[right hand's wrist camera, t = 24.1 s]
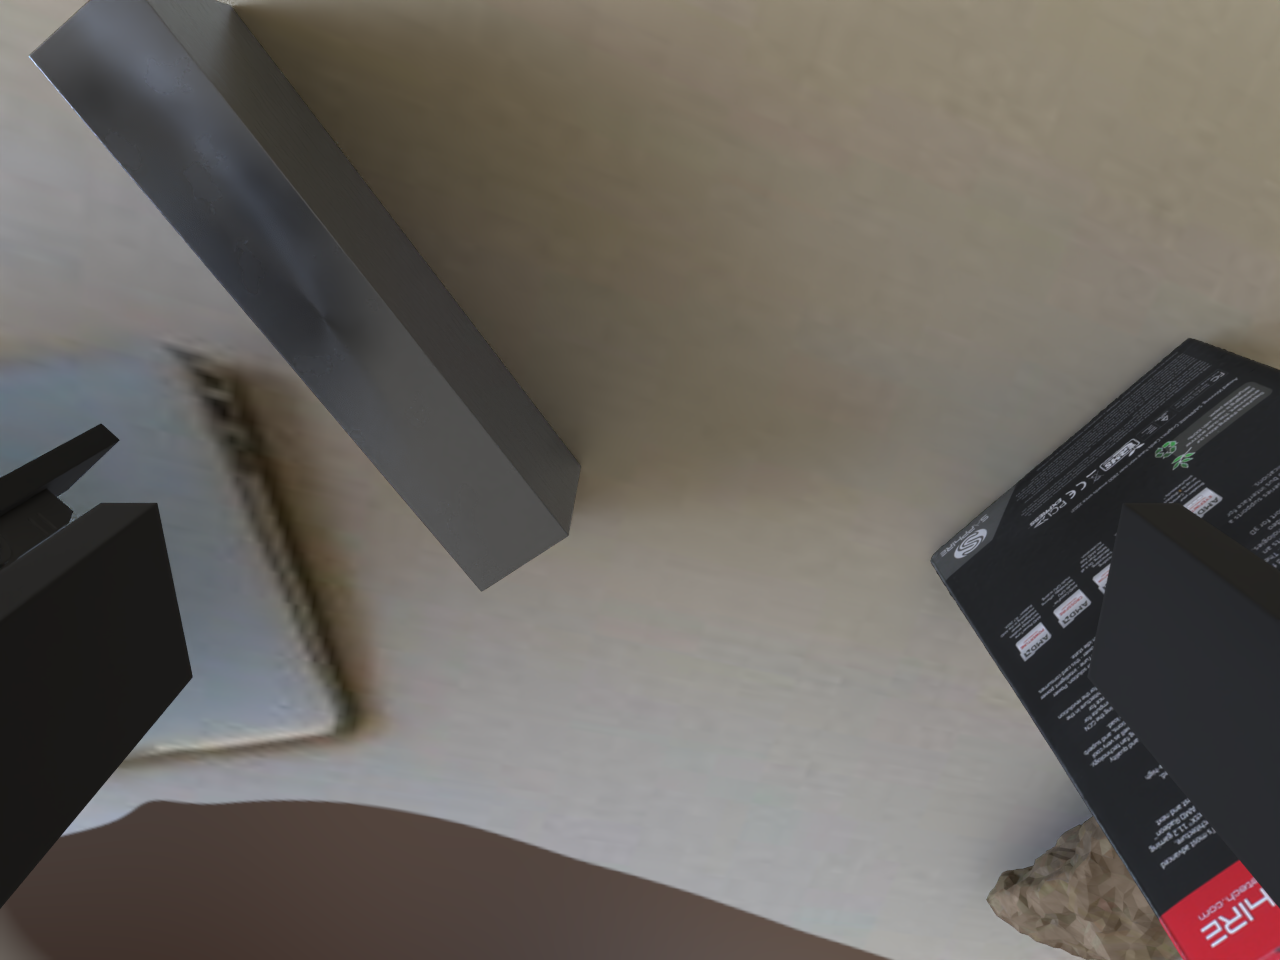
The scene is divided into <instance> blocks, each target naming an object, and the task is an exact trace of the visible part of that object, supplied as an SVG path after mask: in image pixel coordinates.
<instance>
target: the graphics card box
mask: <svg viewBox="0 0 1280 960" xmlns="http://www.w3.org/2000/svg"><path fill="white" fill-rule="evenodd" d="M1123 503H1180V504H1181V505H1183V506H1184V507H1186V508H1187V509H1189V510H1190V511H1192V512H1193V513H1195V514H1196V515H1198V516H1199V517H1200V518H1202V519H1203V520H1205V521H1206V522H1208V523H1209V524H1211V525H1212V526H1214V527H1215V528H1217V529H1218V530H1220V531H1221V532H1223V533H1224V534H1226V535H1227V536H1229V537H1230V538H1232V539H1233V540H1235V541H1236V542H1238V543H1239V544H1240V545H1242V546H1243V547H1245V548H1246V549H1248V550H1249V551H1251V552H1252V553H1254V554H1255V555H1257V556H1258V557H1260V558H1261V559H1263V560H1264V561H1266V562H1267V563H1269V564H1270V565H1272V566H1273V567H1275V568H1276V569H1278V570H1279V571H1280V370H1278V369H1275V368H1273V367H1270V366H1268V365H1265V364H1262V363H1259V362H1256V361H1254V360H1250V359H1248V358H1245V357H1242V356H1240V355H1236V354H1234V353H1232V352H1228V351H1226V350H1225V349H1221V348H1219V347H1215V346H1213V345H1210V344H1208V343H1204V342H1202V341H1199V340H1195V339H1192V338H1188V339H1187V340H1186V341H1184V342H1183V343H1182V344H1181V345H1180V346H1178V347H1177V348H1176V349H1175V350H1174V351H1173V352H1172V353H1171V354H1169V355H1168V356H1167V357H1165V358H1164V359H1163V360H1162V361H1161V362H1160V363H1158V364H1157V365H1156V366H1155V367H1154V368H1153V369H1152V370H1150V371H1149V372H1148V373H1146V374H1145V375H1144V376H1143V377H1141V378H1140V379H1139V380H1138V381H1137V382H1136V383H1135V384H1133V385H1132V386H1131V387H1130V388H1129V389H1128V390H1126V391H1125V392H1124V393H1123V394H1121V395H1120V396H1119V398H1116V399H1115V401H1113V402H1112V403H1111V404H1110V405H1108V406H1107V408H1106V409H1104V410H1102V411H1101V412H1100V413H1099V414H1098V415H1097V416H1096V417H1094V418H1093V419H1092V420H1091V421H1090V422H1089V423H1088V424H1087V425H1085V426H1084V427H1083V428H1082V429H1081V430H1079V431H1078V432H1077V433H1076V434H1075V435H1074V436H1072V437H1070V439H1069V440H1068V441H1067V442H1065V443H1064V444H1063V445H1061V446H1060V447H1059V448H1058V449H1057V450H1055V451H1054V452H1053V453H1052V454H1051V455H1050V456H1049V457H1048V458H1046V459H1045V460H1044V461H1043V462H1041V463H1040V464H1039V465H1038V466H1036V467H1035V468H1034V469H1033V470H1032V471H1031V472H1029V473H1028V474H1027V475H1026V476H1025V477H1024V478H1023V479H1022V480H1020V481H1019V482H1018V483H1017V484H1016V485H1014V486H1013V487H1012V488H1011V489H1010V490H1008V491H1007V492H1006V493H1005V494H1004V495H1002V496H1001V497H1000V498H999V499H998V500H997V501H995V502H994V503H993V504H992V505H991V506H989V507H988V508H987V509H986V510H985V511H983V512H982V513H981V514H980V515H979V516H978V517H976V518H975V519H974V520H973V521H971V522H970V523H969V524H968V525H967V526H966V527H965V528H964V529H962V530H961V531H960V532H959V533H957V534H956V535H955V536H954V537H953V538H952V539H951V540H949V541H948V542H947V543H946V544H945V545H943V546H942V547H941V548H940V549H939V550H938V551H937V552H936V553H935V554H934V555H933V556H932V558H931V563H932V565H933V567H934V568H935V570H936V572H937V574H938V575H939V576H940V578H941V580H942V582H943V583H944V585H945V586H946V587H947V589H948V591H949V593H950V595H951V596H952V597H953V599H954V600H955V601H956V603H957V605H958V606H959V608H960V610H961V611H962V612H963V614H964V615H965V617H966V619H967V620H968V622H969V623H970V625H971V626H972V628H973V629H974V631H975V632H976V634H977V636H978V637H979V638H980V640H981V641H982V643H983V644H984V646H985V648H986V649H987V651H988V652H989V654H990V655H991V657H992V659H993V660H994V661H995V663H996V664H997V666H998V668H999V669H1000V671H1001V672H1002V674H1003V675H1004V677H1005V678H1006V679H1007V681H1008V682H1009V684H1010V685H1011V687H1012V688H1013V690H1014V692H1015V693H1016V695H1017V696H1018V698H1019V699H1020V701H1021V703H1022V704H1023V706H1024V707H1025V709H1026V710H1027V712H1028V713H1029V715H1030V716H1031V718H1032V720H1033V721H1034V723H1035V724H1036V726H1037V727H1038V729H1039V731H1040V732H1041V734H1042V735H1043V737H1044V738H1045V740H1046V742H1047V743H1048V745H1049V746H1050V748H1051V749H1052V751H1053V752H1054V754H1055V755H1056V757H1057V759H1058V760H1059V762H1060V764H1061V765H1062V767H1063V768H1064V770H1065V772H1066V773H1067V775H1068V776H1069V778H1070V780H1071V781H1072V783H1073V784H1074V786H1075V788H1076V789H1077V791H1078V792H1079V794H1080V796H1081V797H1082V799H1083V800H1084V802H1085V804H1086V805H1087V807H1088V808H1089V810H1090V812H1091V813H1092V815H1093V816H1094V818H1095V820H1096V821H1097V823H1098V824H1099V826H1100V828H1101V829H1102V831H1103V832H1104V834H1105V836H1106V837H1107V839H1108V840H1109V842H1110V844H1111V845H1112V847H1113V848H1114V850H1115V851H1116V853H1117V854H1118V856H1119V857H1120V859H1121V860H1122V862H1123V864H1124V865H1125V867H1126V868H1127V870H1128V872H1129V873H1130V875H1131V876H1132V878H1133V880H1134V881H1135V883H1136V885H1137V886H1138V888H1139V889H1140V891H1141V893H1142V894H1143V896H1144V897H1145V899H1146V901H1147V902H1148V904H1149V905H1150V907H1151V909H1152V910H1153V912H1154V913H1155V915H1156V917H1157V918H1158V920H1159V921H1160V923H1161V925H1162V926H1163V928H1164V930H1165V931H1166V933H1167V934H1168V936H1169V938H1170V939H1171V941H1172V943H1173V944H1174V946H1175V947H1176V949H1177V951H1178V952H1179V954H1180V956H1181V957H1182V959H1183V960H1280V908H1279V907H1278V906H1277V905H1276V904H1275V902H1274V901H1273V900H1272V899H1271V898H1270V896H1269V895H1268V894H1267V893H1266V892H1265V890H1264V889H1263V888H1262V887H1261V886H1260V884H1259V883H1258V882H1257V881H1256V879H1255V878H1254V877H1253V876H1252V875H1251V873H1250V872H1249V871H1248V870H1247V869H1246V867H1245V866H1244V865H1243V864H1242V863H1241V861H1240V860H1239V859H1238V858H1237V857H1236V855H1235V854H1234V853H1233V852H1232V851H1231V849H1230V848H1229V847H1228V846H1227V845H1226V843H1225V842H1224V841H1223V840H1222V839H1221V837H1220V836H1219V835H1218V834H1217V833H1216V831H1215V830H1214V829H1213V828H1212V827H1211V825H1210V824H1209V823H1208V822H1207V821H1206V819H1205V818H1204V817H1203V816H1202V815H1201V813H1200V812H1199V811H1198V810H1197V809H1196V807H1195V806H1194V805H1193V804H1192V803H1191V801H1190V800H1189V799H1188V798H1187V797H1186V795H1185V794H1184V793H1183V792H1182V791H1181V789H1180V788H1179V787H1178V786H1177V784H1176V783H1175V782H1174V781H1173V780H1172V778H1171V777H1170V776H1169V775H1168V774H1167V772H1166V771H1165V770H1164V769H1163V768H1162V766H1161V765H1160V764H1159V763H1158V762H1157V760H1156V759H1155V758H1154V757H1153V756H1152V754H1151V753H1150V752H1149V751H1148V750H1147V748H1146V747H1145V746H1144V745H1143V744H1142V742H1141V741H1140V740H1139V739H1138V738H1137V736H1136V735H1135V734H1134V733H1133V732H1132V730H1131V729H1130V728H1129V727H1128V726H1127V724H1126V723H1125V722H1124V721H1123V720H1122V718H1121V717H1120V716H1119V715H1118V714H1117V712H1116V711H1115V710H1114V709H1113V708H1112V706H1111V705H1110V704H1109V703H1108V702H1107V700H1106V699H1105V698H1104V697H1103V696H1102V694H1101V693H1100V692H1099V691H1098V689H1097V688H1096V687H1095V686H1094V685H1093V683H1092V682H1091V681H1090V680H1089V679H1088V677H1087V676H1088V671H1089V666H1090V661H1091V656H1092V651H1093V646H1094V641H1095V637H1096V632H1097V627H1098V622H1099V617H1100V612H1101V607H1102V602H1103V597H1104V592H1105V588H1106V583H1107V578H1108V573H1109V568H1110V563H1111V558H1112V553H1113V548H1114V543H1115V539H1116V534H1117V529H1118V524H1119V519H1120V514H1121V509H1122V504H1123Z"/></svg>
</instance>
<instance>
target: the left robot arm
mask: <svg viewBox="0 0 1280 960" xmlns="http://www.w3.org/2000/svg"><path fill="white" fill-rule="evenodd" d="M118 441H119V439H118V438H117V437H116V436H115V435H113V434H112V433H111V432H110V431H109V430H108V429H107V428H106V427H105V426H104V425H102V424H99V425H97V426H96V427H94V428H92V429H90V430H88V431H86V432H84V433H83V434H81V435H79V436H77V437H75V438H73V439H72V440H70V441H68V442H66V443H64V444H62V445H60V446H59V447H57V448H55V449H53V450H51V451H49V452H48V453H46V454H44V455H42V456H40V457H38V458H36V459H35V460H33V461H31V462H29V463H27V464H25V465H23V466H22V467H20V468H18V469H16V470H14V471H12V472H11V473H9V474H7V475H5V476H3V477H1V478H0V571H1V570H2V569H4V568H5V567H7V566H8V565H10V564H11V563H13V562H14V561H16V560H17V559H19V558H20V557H22V556H23V555H25V554H26V553H28V552H29V551H31V550H32V549H34V548H35V547H37V546H38V545H40V544H41V543H42V542H44V541H45V540H47V539H48V538H50V537H51V536H53V535H54V534H56V533H57V532H59V531H60V530H62V529H63V528H64V527H65V526H66V525H67V524H68V523H69V521H70V519H71V516H72V513H73V511H72V510H71V509H70V508H69V507H68V506H66V505H65V504H64V503H63V502H62V501H61V500H59V499H58V498H57V496H58V495H60V494H62V493H63V492H65V491H66V490H68V489H69V488H70V487H71V486H72V485H73V484H74V483H75V482H76V481H77V480H78V479H79V478H80V477H82V476H83V475H84V474H85V473H86V472H87V471H88V470H89V469H90V468H91V467H92V466H93V465H94V464H95V463H96V462H97V461H98V460H99V459H100V458H101V457H103V456H104V455H105V454H106V453H107V452H108V451H109V450H110V449H111V448H112V447H113V446H114V445H115V444H116V443H117V442H118Z"/></svg>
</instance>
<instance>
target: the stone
mask: <svg viewBox="0 0 1280 960" xmlns="http://www.w3.org/2000/svg"><path fill="white" fill-rule="evenodd" d="M987 902H988V903H989V904H990V906H991V908H992V909H993V911H994V912H995V914H996V915H997V916H998V917H1000V918H1001V919H1002V920H1004V921H1005V922H1007V923H1008V924H1010V925H1011V926H1013V927H1014V928H1015V929H1016V930H1017V931H1019V932H1020V933H1022V934H1026V935H1029V936H1030V937H1031V938H1032V939H1034V940H1035V941H1037V942H1040V943H1043V944H1047V945H1049V946H1051V947H1053V948H1061V949H1063V950H1065V951H1067V952H1069V953H1070V954H1072V955H1075V956H1079V957H1082V958H1084V959H1086V960H1183V959H1182V957H1181V956H1180V954H1179V952H1178V951H1177V949H1176V947H1175V946H1174V944H1173V943H1172V941H1171V939H1170V938H1169V936H1168V934H1167V933H1166V931H1165V930H1164V928H1163V926H1162V925H1161V923H1160V921H1159V920H1158V918H1157V917H1156V915H1155V913H1154V912H1153V910H1152V909H1151V907H1150V905H1149V904H1148V902H1147V901H1146V899H1145V897H1144V896H1143V894H1142V893H1141V891H1140V889H1139V888H1138V886H1137V885H1136V883H1135V881H1134V880H1133V878H1132V876H1131V875H1130V873H1129V872H1128V870H1127V868H1126V867H1125V865H1124V864H1123V862H1122V860H1121V859H1120V857H1119V856H1118V854H1117V853H1116V851H1115V850H1114V848H1113V847H1112V845H1111V844H1110V842H1109V840H1108V839H1107V837H1106V836H1105V834H1104V832H1103V831H1102V829H1101V828H1100V826H1099V824H1098V823H1097V821H1096V820H1095V818H1094V816H1093V817H1091V818H1090V819H1089V820H1087V821H1086V822H1085V823H1083V825H1078V826H1076V827H1074V828H1072V829H1070V830H1069V831H1067V832H1065V833H1064V834H1063V835H1062V836H1061V837H1060V838H1059V839H1058V840H1057V844H1056V846H1055V847H1053V848H1052V849H1050V850H1047V851H1046V853H1045V854H1043V855H1042V856H1040V857H1039V858H1037V859H1036V860H1035V864H1034V866H1031V867H1027V868H1024V869H1016V870H1009V871H1005V872H1003V873H1002V874H1001V876H1000V877H999V880H998V882H997V884H996V886H995V888H994V889H993V890H992V891H991V892H990V893H989V895H988V897H987Z"/></svg>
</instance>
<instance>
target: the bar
mask: <svg viewBox="0 0 1280 960" xmlns="http://www.w3.org/2000/svg"><path fill="white" fill-rule="evenodd" d="M29 57H30V59H31V60H32V61H33V62H34V63H35V64H36V66H37V67H38V68H39V69H40V70H41V72H42V73H43V74H44V75H45V76H46V77H47V79H48V80H49V81H50V82H51V83H52V85H53V86H54V87H55V88H56V89H57V90H58V92H59V93H60V94H61V95H62V96H63V98H64V99H65V100H66V101H67V102H68V103H69V105H70V106H71V107H72V108H73V109H74V111H75V112H76V113H77V114H78V115H79V116H80V118H81V119H82V120H83V121H84V122H85V124H86V125H87V126H88V127H89V128H90V129H91V131H92V132H93V133H94V134H95V135H96V137H97V138H98V139H99V140H100V141H101V142H102V144H103V145H104V146H105V147H106V148H107V150H108V151H109V152H110V153H111V154H112V155H113V157H114V158H115V159H116V160H117V161H118V163H119V164H120V165H121V166H122V167H123V168H124V170H125V171H126V172H127V173H128V174H129V176H130V177H131V178H132V179H133V180H134V181H135V183H136V184H137V185H138V186H139V187H140V189H141V190H142V191H143V192H144V193H145V194H146V196H147V197H148V198H149V199H150V200H151V202H152V203H153V204H154V205H155V206H156V207H157V209H158V210H159V211H160V212H161V213H162V215H163V216H164V217H165V218H166V219H167V220H168V222H169V223H170V224H171V225H172V226H173V228H174V229H175V230H176V231H177V232H178V233H179V235H180V236H181V237H182V238H183V239H184V241H185V242H186V243H187V244H188V245H189V246H190V248H191V249H192V250H193V251H194V252H195V254H196V255H197V256H198V257H199V258H200V259H201V261H202V262H203V263H204V264H205V265H206V267H207V268H208V269H209V270H210V271H211V273H212V274H213V275H214V276H215V277H216V278H217V280H218V281H219V282H220V283H221V284H222V286H223V287H224V288H225V289H226V290H227V291H228V293H229V294H230V295H231V296H232V297H233V299H234V300H235V301H236V302H237V303H238V304H239V306H240V307H241V308H242V309H243V310H244V312H245V313H246V314H247V315H248V316H249V317H250V319H251V320H252V321H253V322H254V323H255V325H256V326H257V327H258V328H259V329H260V330H261V332H262V333H263V334H264V335H265V336H266V338H267V339H268V340H269V341H270V342H271V343H272V345H273V346H274V347H275V348H276V349H277V351H278V352H279V353H280V354H281V355H282V356H283V358H284V359H285V360H286V361H287V362H288V364H289V365H290V366H291V367H292V368H293V369H294V371H295V372H296V373H297V374H298V375H299V377H300V378H301V379H302V380H303V381H304V382H305V384H306V385H307V386H308V387H309V388H310V390H311V391H312V392H313V393H314V394H315V395H316V397H317V398H318V399H319V400H320V401H321V403H322V404H323V405H324V406H325V407H326V408H327V410H328V411H329V412H330V413H331V414H332V416H333V417H334V418H335V419H336V420H337V421H338V423H339V424H340V425H341V426H342V427H343V429H344V430H345V431H346V432H347V433H348V434H349V436H350V437H351V438H352V439H353V440H354V442H355V443H356V444H357V445H358V446H359V447H360V449H361V450H362V451H363V452H364V453H365V455H366V456H367V457H368V458H369V459H370V460H371V462H372V463H373V464H374V465H375V466H376V468H377V469H378V470H379V471H380V472H381V473H382V475H383V476H384V477H385V478H386V479H387V481H388V482H389V483H390V484H391V485H392V486H393V488H394V489H395V490H396V491H397V492H398V494H399V495H400V496H401V497H402V498H403V499H404V501H405V502H406V503H407V504H408V505H409V507H410V508H411V509H412V510H413V511H414V512H415V514H416V515H417V516H418V517H419V518H420V520H421V521H422V522H423V523H424V524H425V525H426V527H427V528H428V529H429V530H430V531H431V533H432V534H433V535H434V536H435V537H436V539H437V540H438V541H439V542H440V543H441V544H442V546H443V547H444V548H445V549H446V550H447V552H448V553H449V554H450V555H451V556H452V557H453V559H454V560H455V561H456V562H457V563H458V565H459V566H460V567H461V568H462V569H463V570H464V572H465V573H466V574H467V575H468V576H469V578H470V579H471V580H472V581H473V582H474V583H475V585H476V586H477V587H478V588H479V589H480V591H484V590H485V589H487V588H488V587H490V586H491V585H493V584H494V583H496V582H498V581H499V580H501V579H502V578H504V577H505V576H507V575H508V574H510V573H511V572H513V571H515V570H516V569H518V568H519V567H521V566H522V565H524V564H525V563H527V562H529V561H530V560H532V559H533V558H535V557H536V556H538V555H539V554H541V553H542V552H544V551H546V550H547V549H549V548H550V547H552V546H553V545H555V544H556V543H558V542H560V541H561V540H563V539H564V538H566V537H567V536H568V535H569V530H570V524H571V519H572V513H573V508H574V502H575V497H576V491H577V486H578V480H579V475H580V469H581V466H580V464H579V463H578V462H577V460H576V459H575V458H574V456H573V455H572V454H571V452H570V451H569V450H568V448H567V447H566V446H565V445H564V443H563V442H562V441H561V439H560V438H559V437H558V435H557V434H556V433H555V431H554V430H553V429H552V427H551V426H550V425H549V423H548V422H547V421H546V420H545V418H544V417H543V416H542V414H541V413H540V412H539V410H538V409H537V408H536V406H535V405H534V404H533V402H532V401H531V400H530V398H529V397H528V396H527V395H526V393H525V392H524V391H523V389H522V388H521V387H520V385H519V384H518V383H517V381H516V380H515V379H514V377H513V376H512V375H511V373H510V372H509V371H508V370H507V368H506V367H505V366H504V364H503V363H502V362H501V360H500V359H499V358H498V356H497V355H496V354H495V352H494V351H493V350H492V348H491V347H490V346H489V345H488V343H487V342H486V341H485V339H484V338H483V337H482V335H481V334H480V333H479V331H478V330H477V329H476V327H475V326H474V325H473V323H472V322H471V321H470V320H469V318H468V317H467V316H466V314H465V313H464V312H463V310H462V309H461V308H460V306H459V305H458V304H457V302H456V301H455V300H454V299H453V297H452V296H451V295H450V293H449V292H448V291H447V289H446V288H445V287H444V285H443V284H442V283H441V281H440V280H439V279H438V277H437V276H436V275H435V274H434V272H433V271H432V270H431V268H430V267H429V266H428V264H427V263H426V262H425V260H424V259H423V258H422V256H421V255H420V254H419V252H418V251H417V250H416V249H415V247H414V246H413V245H412V243H411V242H410V241H409V239H408V238H407V237H406V235H405V234H404V233H403V231H402V230H401V229H400V227H399V226H398V225H397V224H396V222H395V221H394V220H393V218H392V217H391V216H390V214H389V213H388V212H387V210H386V209H385V208H384V206H383V205H382V204H381V202H380V201H379V200H378V199H377V197H376V196H375V195H374V193H373V192H372V191H371V189H370V188H369V187H368V185H367V184H366V183H365V181H364V180H363V179H362V178H361V176H360V175H359V174H358V172H357V171H356V170H355V168H354V167H353V166H352V164H351V163H350V162H349V160H348V159H347V158H346V156H345V155H344V154H343V153H342V151H341V150H340V149H339V147H338V146H337V145H336V143H335V142H334V141H333V139H332V138H331V137H330V135H329V134H328V133H327V131H326V130H325V129H324V128H323V126H322V125H321V124H320V122H319V121H318V120H317V118H316V117H315V116H314V114H313V113H312V112H311V110H310V109H309V108H308V106H307V105H306V104H305V103H304V101H303V100H302V99H301V97H300V96H299V95H298V93H297V92H296V91H295V89H294V88H293V87H292V85H291V84H290V83H289V81H288V80H287V79H286V78H285V76H284V75H283V74H282V72H281V71H280V70H279V68H278V67H277V66H276V64H275V63H274V62H273V60H272V59H271V58H270V56H269V55H268V54H267V53H266V51H265V50H264V49H263V47H262V46H261V45H260V43H259V42H258V41H257V39H256V38H255V37H254V35H253V34H252V33H251V32H250V30H249V29H248V28H247V26H246V25H245V24H244V22H243V21H242V20H241V18H240V17H239V16H238V14H237V13H236V12H235V10H234V9H233V8H232V7H231V5H228V4H225V3H222V2H219V1H216V0H89V1H88V2H87V3H86V4H85V5H84V6H83V7H81V8H80V9H79V10H78V11H77V12H76V13H75V14H74V15H73V16H72V17H71V18H69V19H68V20H67V21H66V22H65V23H64V24H63V25H62V26H61V27H60V28H58V29H57V30H56V31H55V32H54V33H53V34H52V35H51V36H50V37H49V38H48V39H46V40H45V41H44V42H43V43H42V44H41V45H40V46H39V47H38V48H37V49H36V50H34V51H33V52H32V53H31V54H30V55H29Z"/></svg>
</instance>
